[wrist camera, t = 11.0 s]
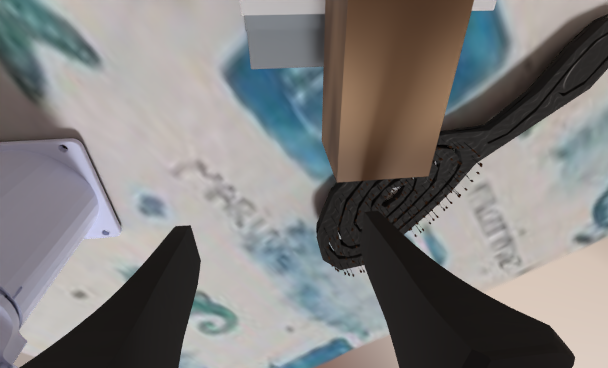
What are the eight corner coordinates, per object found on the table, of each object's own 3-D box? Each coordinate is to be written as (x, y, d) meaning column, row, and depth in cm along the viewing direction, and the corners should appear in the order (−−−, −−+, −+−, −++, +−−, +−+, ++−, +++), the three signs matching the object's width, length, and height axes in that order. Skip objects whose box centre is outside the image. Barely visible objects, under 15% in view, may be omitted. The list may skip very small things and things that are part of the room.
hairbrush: (679, 76, 19) (363, 295, 25) (618, 65, 22) (351, 262, 28) (663, -50, 15) (294, 248, 21) (592, -42, 18) (289, 216, 25)
